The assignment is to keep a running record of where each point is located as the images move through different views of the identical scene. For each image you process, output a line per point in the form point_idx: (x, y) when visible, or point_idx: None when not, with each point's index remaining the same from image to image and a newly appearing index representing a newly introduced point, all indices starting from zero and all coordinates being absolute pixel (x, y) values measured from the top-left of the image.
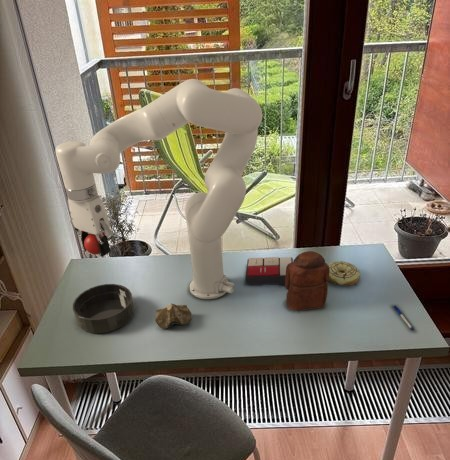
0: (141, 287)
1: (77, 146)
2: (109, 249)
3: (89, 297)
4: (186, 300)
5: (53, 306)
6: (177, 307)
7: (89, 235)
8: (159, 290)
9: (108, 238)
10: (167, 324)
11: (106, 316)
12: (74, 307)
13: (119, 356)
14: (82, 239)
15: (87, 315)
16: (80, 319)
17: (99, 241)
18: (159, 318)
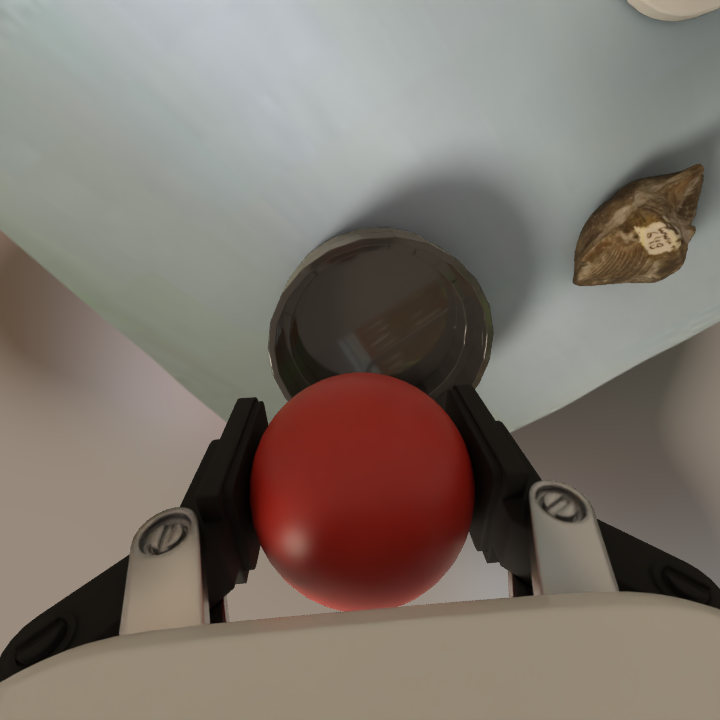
0: (368, 110)
1: None
2: (475, 397)
3: (283, 331)
4: (617, 74)
5: (188, 385)
6: (673, 208)
7: (339, 606)
8: (461, 78)
9: (637, 553)
10: (632, 281)
11: (387, 337)
12: None
13: (521, 412)
14: (247, 566)
15: (329, 365)
16: None
17: (517, 579)
18: (598, 278)
